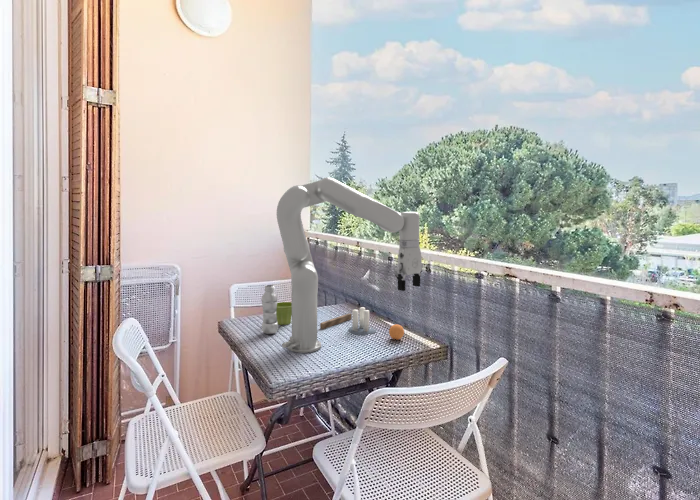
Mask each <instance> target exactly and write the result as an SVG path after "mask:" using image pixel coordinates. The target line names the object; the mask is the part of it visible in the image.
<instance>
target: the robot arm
mask: <svg viewBox="0 0 700 500" xmlns="http://www.w3.org/2000/svg"><path fill="white" fill-rule="evenodd" d="M326 202H327V203H329V204H331V205H333V206H335V207H337V208H339V209H340V210H342V211H345V212H347V213H348V214H350V215H353V216H354V217H357V218H359V219H364V220H366V221H368V222H371V223H373V224H375V225H376V226H378V227H379V228H380V229H381V230H383V231H385V232H389V233H393V234H394V233H397V232H398V233H399V234H398V235H399V238H398V241H399V243H398V244H399V246H398V248H399V249H398V253H397V266H396V267H395V268H394V270H393V272H394V276H395V278H396V280H397V290H398V291H403V292H405V291H406V276H411V275H412V286H414V287H420V286H421V276H422V273H423V267H424V263H423V262H422V260H423V259H422V253H421V247H420V214H419V212H417V211H402V212H398V211H397V210H395V209H393V208H391V207H389V206H387V205H385V204H384V203H381V202H379V201H378V200H375V199H373V198H371V197H369V196H367V194H364V193H362V192H360V191H358V190H356V189H354V188H353V187H350V186H349V185H346V184H345V183H344V182H341V181H339V180H337V179H335V178H333V177H329V176H328V177H326V176H325V177H324V178H321V179H320V180H316V181H314V182H310V183H305V184H302V185H301V184H300V185H299V184H298V185H293V186H291V187H290V188H288V189H287V190H286V191H285V192H284V193H283V195H282V196H281V197H280V199H279V200H278V202H277V203H278V204H277V207H276V219H277V221H276V222H277V224H278V229H279V230H278V231H279V234H280V237H281V241H282V245H283V252H284V254H285V257H286V261H287V264H288V267H289V271H290V277H291V278H290V279H291V280H290V281H291V282H290V283H291V284H290V285H291V292H290V293H291V294H290V295H291V296H290V297H291V301H290V302H291V303H292V316H291V336H290V337H289V339H288V341H285V342H282V343H281V346H282V348H283V349H286V348H287V349H288V350H289V351H291V352H293V353H300V354H301V353H302V354H306V353H307V354H308V353H313V352H316V351H318V350H320V349H321V348H322V342H321V341H320V340H318V288H319V275H318V271H317V269H316V267H315V265H314V260H313V256H312V253H311V250H310V249H311V248H310V243H309V241H308V239H307V236H306V232H305V229H304V226H303V225H304V224H303V221H302V220H303V219H302V215H301V214H302V211H303V209H304V208H305V209H306V208H307V207H308V208H309V207H312V206H315V205H318V204H322V203H326Z"/></svg>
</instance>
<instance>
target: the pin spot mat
mask: <svg viewBox="0 0 700 500" xmlns="http://www.w3.org/2000/svg"><path fill="white" fill-rule="evenodd" d="M370 327H371V329H369V331H368V332H364V331H363V328H359V325H358V331H352V326H351V327H349V328H348V329H347V331H348V332H349V333H351V334H353V335H357V336H368V334H370V335H373V333H374V334H375V333H377V329H376V328H375V330H374V329H373V328H374V327H373V326H370ZM372 327H373V328H372Z"/></svg>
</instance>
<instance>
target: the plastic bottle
mask: <svg viewBox="0 0 700 500" xmlns="http://www.w3.org/2000/svg"><path fill="white" fill-rule="evenodd" d="M278 300H279V299H278V296H277V294H276V292H275V286H274V285H273V284H268V285H265V286H264V293H263V294H262V296H261V306H262V325H261V331H262V332H263V333H264V334H265V335H273V334H274V335H275V334H276V333H277V332H278V331H279V324H278V323H277V315H276V310H277V303H278Z"/></svg>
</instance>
